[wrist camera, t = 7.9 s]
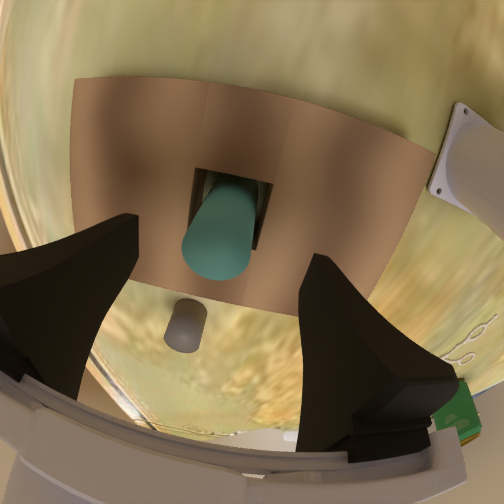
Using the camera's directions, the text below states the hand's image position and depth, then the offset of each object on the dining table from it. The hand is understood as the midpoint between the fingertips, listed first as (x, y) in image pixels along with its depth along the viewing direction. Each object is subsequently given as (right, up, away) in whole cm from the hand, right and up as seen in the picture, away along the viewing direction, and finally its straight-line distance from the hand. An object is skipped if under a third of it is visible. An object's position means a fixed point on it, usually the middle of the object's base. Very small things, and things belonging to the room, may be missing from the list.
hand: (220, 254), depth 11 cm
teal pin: (0, +4, +8) cm, 9 cm away
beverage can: (+37, -25, +24) cm, 51 cm away
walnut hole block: (0, +5, +8) cm, 9 cm away
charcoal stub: (-5, -6, +15) cm, 17 cm away
